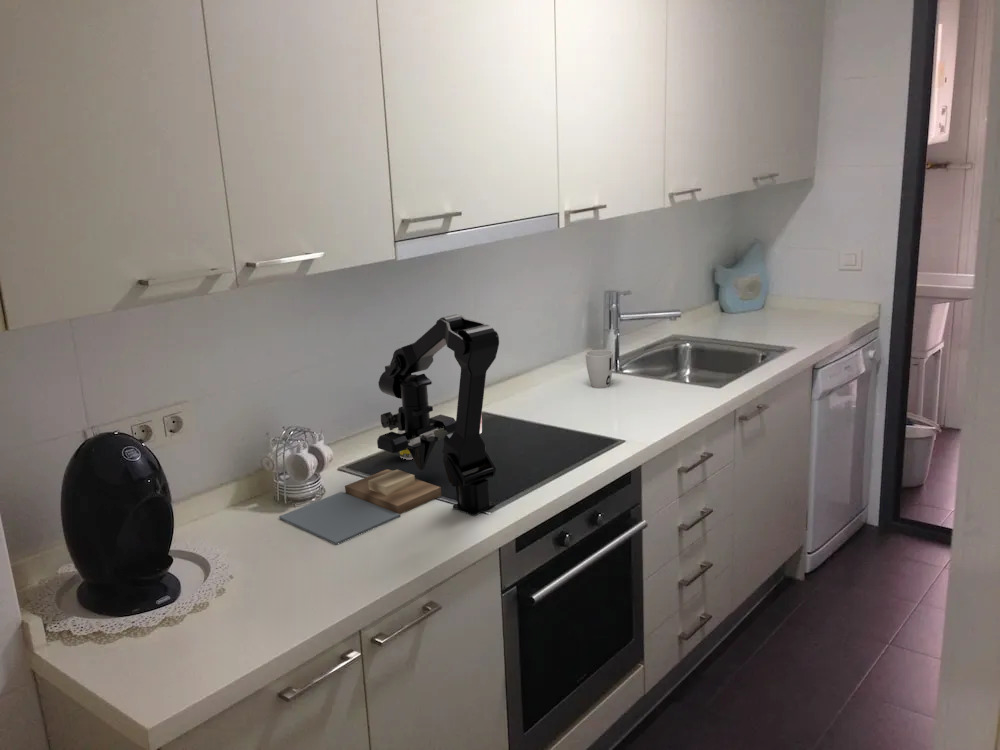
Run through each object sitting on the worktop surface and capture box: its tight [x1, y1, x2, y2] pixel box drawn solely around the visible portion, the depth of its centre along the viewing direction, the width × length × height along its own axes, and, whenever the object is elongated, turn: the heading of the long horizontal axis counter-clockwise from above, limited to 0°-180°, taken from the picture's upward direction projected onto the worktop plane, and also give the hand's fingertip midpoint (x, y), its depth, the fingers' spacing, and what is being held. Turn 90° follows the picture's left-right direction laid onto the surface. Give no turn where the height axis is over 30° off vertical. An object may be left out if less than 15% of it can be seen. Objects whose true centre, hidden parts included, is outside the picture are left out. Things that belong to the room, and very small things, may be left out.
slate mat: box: [278, 491, 401, 546], centre depth 185 cm, size 20×16×1 cm
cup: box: [585, 349, 614, 389], centre depth 264 cm, size 8×8×10 cm
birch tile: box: [368, 468, 416, 496], centre depth 194 cm, size 6×8×2 cm
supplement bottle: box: [397, 429, 414, 461], centre depth 216 cm, size 5×5×10 cm
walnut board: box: [344, 468, 442, 515], centre depth 195 cm, size 18×12×2 cm, turn 46°
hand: (421, 469), depth 200 cm, fingers closed
